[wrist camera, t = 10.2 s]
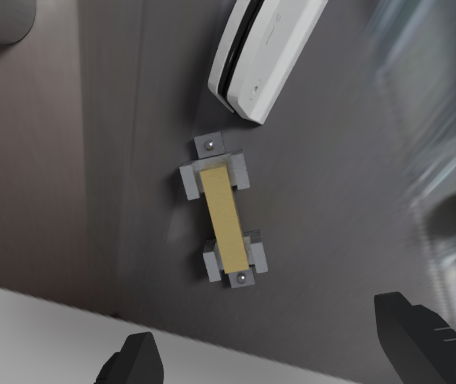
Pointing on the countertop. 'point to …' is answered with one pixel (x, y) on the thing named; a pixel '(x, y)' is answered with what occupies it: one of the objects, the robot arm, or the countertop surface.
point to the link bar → (225, 217)
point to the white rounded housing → (260, 52)
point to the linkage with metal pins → (215, 154)
